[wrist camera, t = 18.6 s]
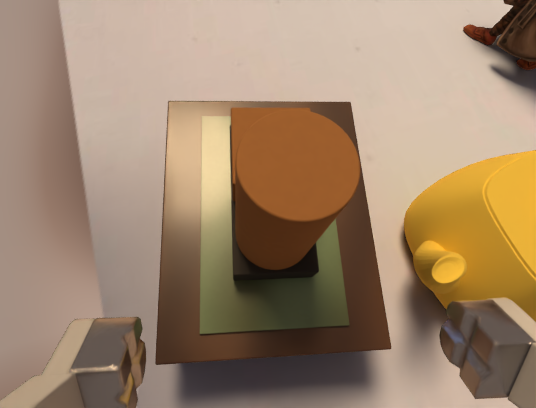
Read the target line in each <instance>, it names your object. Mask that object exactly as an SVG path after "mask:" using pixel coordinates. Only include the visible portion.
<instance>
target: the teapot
mask: <svg viewBox="0 0 536 408" xmlns="http://www.w3.org/2000/svg"><path fill="white" fill-rule="evenodd" d="M404 229H405V235H406V239H407V242H408V244H409V247H410V249H411V252H412V254H413V256H414V257H413V264H414V268H415V271H416V273H417V275H418V277H419V278H420V280H421V281H422V282H423V284H424V285H425V286H426V287H427V288H429V289H430V290H432V291H433V292H434V294H435V295H436V297H437V298H438V299H439V301H440V302H441V303H442V305H443V306H444V307H445V308H446V310H447V307H448V305H449V304H450V303H451V302H452V301H461V300H478V299H489V298H504V297H506V298H508V299H510V300H512V301H513V302H514V303H516V304H517V305H518V306H519V307H520V308H521V309H522V310H523V311H524V312H525V313H527V314H528V315H529V316H530V317H531V318H532V319H533V320H534V321H535V322H536V150H533V151H527V152H522V153H516V154H509V155H504V156H499V157H494V158H490V159H486V160H483V161H480V162H477V163H474V164H471V165H468V166H466V167H464V168H462V169H459V170H457V171H455V172H453V173H451V174H449V175H447V176H445V177H444V178H442V179H440V180H438V181H437V182H436V183H434V184H433V185H431V186H430V187H429V188H427V189H426V190H425V191H423V192H422V193H421V194H420V195H419V196H418V197H417V198H416V199H415V200H414V201H413V202H412V203H411V205H410V206H409V208H408V210H407V212H406V215H405V218H404Z"/></svg>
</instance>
